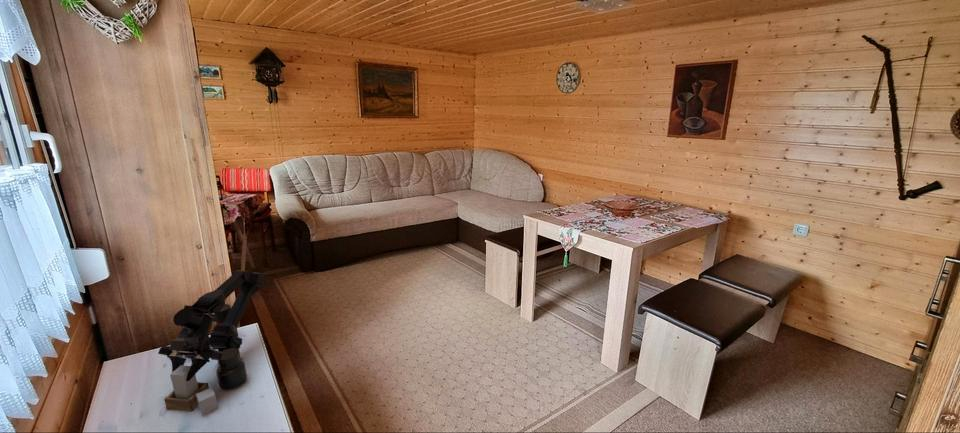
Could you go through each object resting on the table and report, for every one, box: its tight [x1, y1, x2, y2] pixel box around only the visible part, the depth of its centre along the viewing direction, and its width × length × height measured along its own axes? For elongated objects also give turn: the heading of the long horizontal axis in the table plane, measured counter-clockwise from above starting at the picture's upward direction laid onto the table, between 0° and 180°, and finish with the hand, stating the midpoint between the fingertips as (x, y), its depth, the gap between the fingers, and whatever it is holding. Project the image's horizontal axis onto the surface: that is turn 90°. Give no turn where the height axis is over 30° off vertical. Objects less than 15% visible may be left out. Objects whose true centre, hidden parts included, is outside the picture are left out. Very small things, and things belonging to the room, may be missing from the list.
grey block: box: [196, 387, 219, 416], centre depth 134 cm, size 4×4×6 cm
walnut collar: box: [163, 381, 210, 412], centre depth 137 cm, size 9×9×4 cm
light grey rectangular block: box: [169, 365, 199, 399], centre depth 135 cm, size 4×4×10 cm
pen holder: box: [178, 327, 211, 358], centre depth 161 cm, size 9×9×10 cm
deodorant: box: [213, 303, 232, 326], centre depth 168 cm, size 6×6×15 cm
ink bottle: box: [215, 348, 248, 391], centre depth 144 cm, size 10×9×12 cm
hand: (180, 380), depth 133 cm, fingers closed on light grey rectangular block, 4 cm apart
